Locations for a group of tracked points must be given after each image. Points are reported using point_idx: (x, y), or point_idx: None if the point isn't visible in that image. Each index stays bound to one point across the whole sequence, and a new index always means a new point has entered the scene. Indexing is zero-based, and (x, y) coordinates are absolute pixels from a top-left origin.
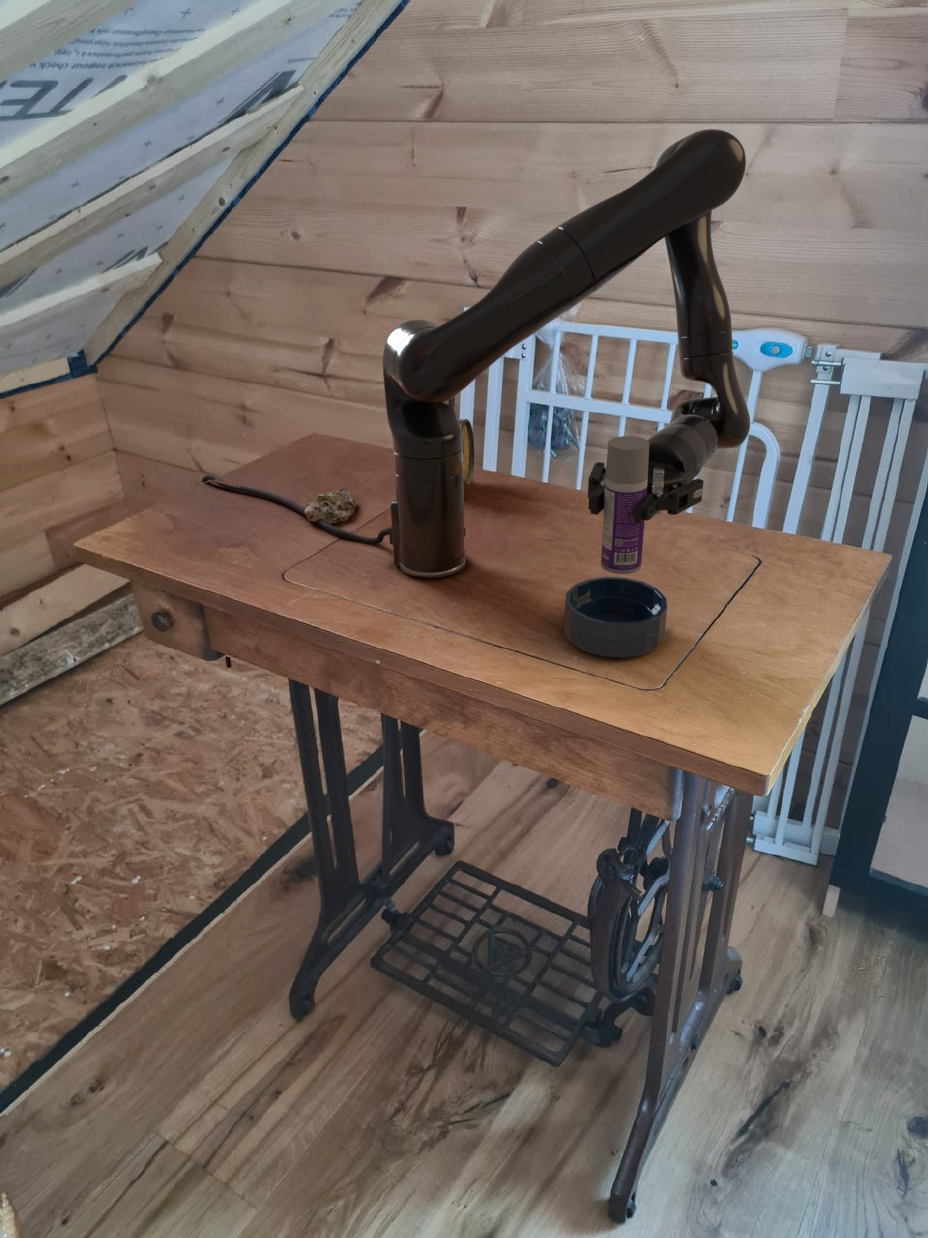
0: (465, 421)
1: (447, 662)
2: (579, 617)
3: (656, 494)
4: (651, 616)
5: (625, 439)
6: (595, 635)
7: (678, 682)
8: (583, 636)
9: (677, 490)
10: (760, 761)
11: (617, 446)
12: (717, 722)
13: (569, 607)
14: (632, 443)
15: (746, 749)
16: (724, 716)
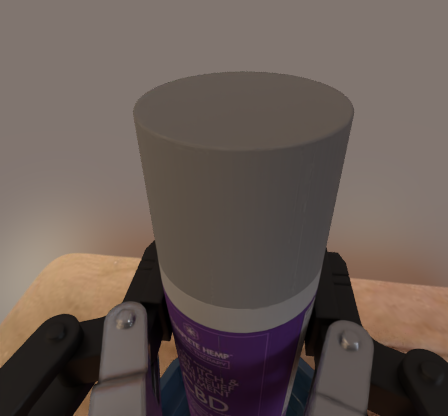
0: None
1: (396, 292)
2: None
3: (129, 302)
4: (164, 385)
5: (275, 114)
6: None
7: None
8: None
9: (38, 362)
10: (58, 261)
11: (272, 78)
12: (88, 297)
13: (304, 362)
14: (220, 99)
15: (67, 271)
16: (78, 308)
